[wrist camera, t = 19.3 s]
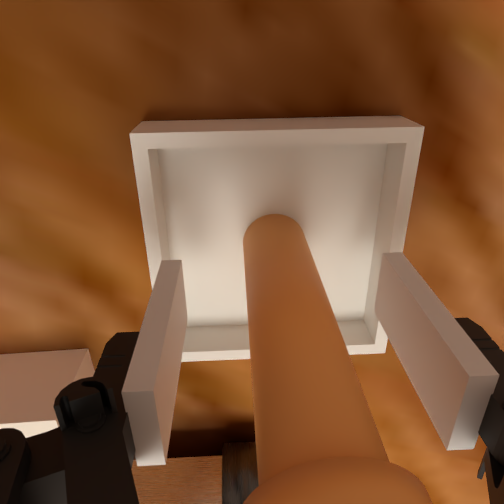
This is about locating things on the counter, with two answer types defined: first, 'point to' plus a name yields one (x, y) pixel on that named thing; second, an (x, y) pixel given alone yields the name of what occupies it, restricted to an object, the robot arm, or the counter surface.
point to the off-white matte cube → (37, 386)
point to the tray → (275, 212)
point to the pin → (308, 386)
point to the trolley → (200, 478)
